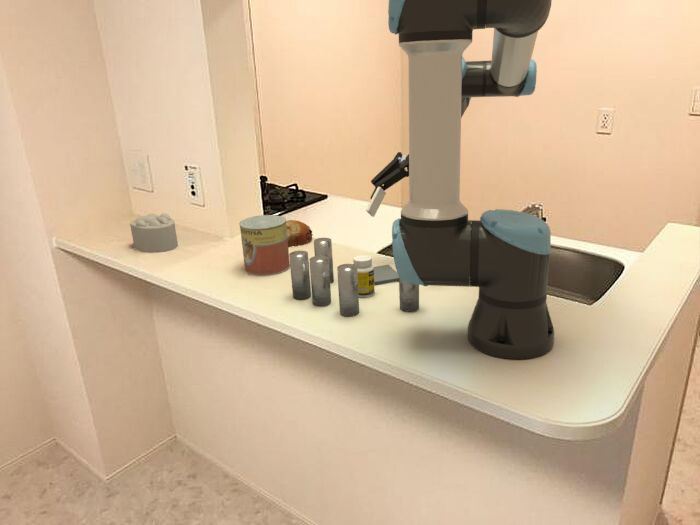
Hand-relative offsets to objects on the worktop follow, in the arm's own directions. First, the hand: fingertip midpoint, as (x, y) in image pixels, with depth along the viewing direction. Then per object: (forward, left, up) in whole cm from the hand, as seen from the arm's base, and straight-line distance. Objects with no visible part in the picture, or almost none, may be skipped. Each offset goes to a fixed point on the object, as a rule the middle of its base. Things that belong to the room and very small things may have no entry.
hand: (392, 218), depth 133 cm
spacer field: (-6, +13, -14) cm, 20 cm away
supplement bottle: (-5, +9, -15) cm, 18 cm away
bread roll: (+37, +15, -15) cm, 43 cm away
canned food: (+20, +26, -15) cm, 36 cm away
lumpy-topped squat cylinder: (+50, +52, -15) cm, 74 cm away
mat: (+3, +3, -14) cm, 15 cm away
